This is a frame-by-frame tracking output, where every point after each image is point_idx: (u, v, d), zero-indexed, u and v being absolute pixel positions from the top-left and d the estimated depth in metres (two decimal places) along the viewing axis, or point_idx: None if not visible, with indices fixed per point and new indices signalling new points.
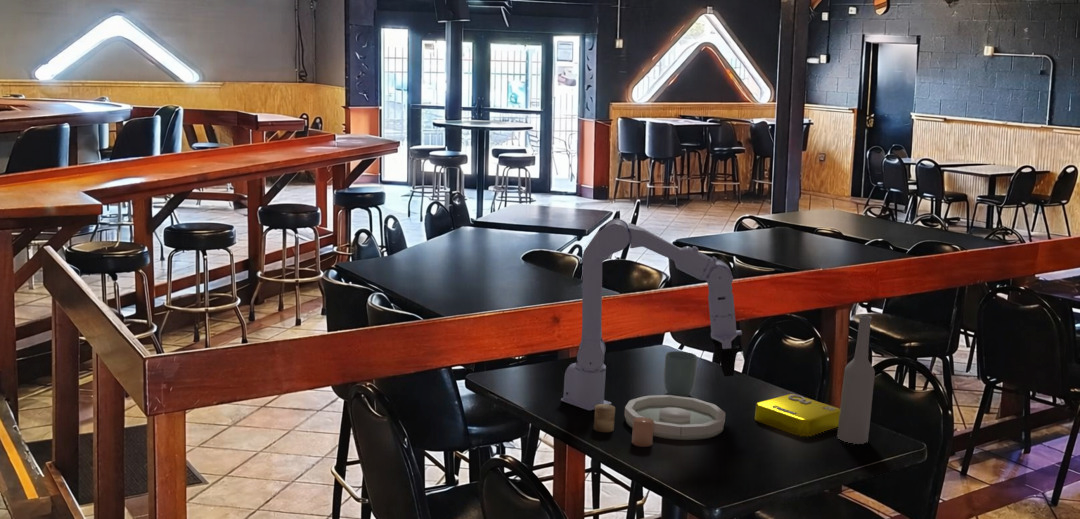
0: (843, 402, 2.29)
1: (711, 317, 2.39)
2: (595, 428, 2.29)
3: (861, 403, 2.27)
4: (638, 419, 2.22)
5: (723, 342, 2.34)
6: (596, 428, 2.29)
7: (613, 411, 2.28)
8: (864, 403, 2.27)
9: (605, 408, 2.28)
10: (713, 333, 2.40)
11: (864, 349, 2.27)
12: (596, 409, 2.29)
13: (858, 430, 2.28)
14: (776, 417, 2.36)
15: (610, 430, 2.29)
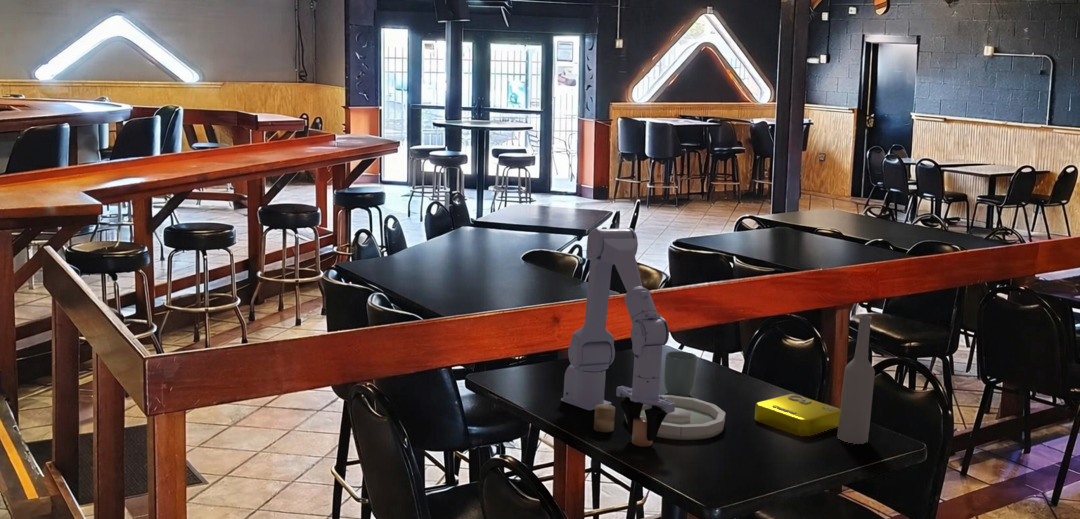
0: (843, 402, 2.29)
1: None
2: (595, 428, 2.29)
3: (861, 403, 2.27)
4: (638, 419, 2.22)
5: None
6: (596, 428, 2.29)
7: (613, 411, 2.28)
8: (864, 403, 2.27)
9: (605, 408, 2.28)
10: None
11: (864, 349, 2.27)
12: (596, 409, 2.29)
13: (858, 430, 2.28)
14: (776, 417, 2.36)
15: (610, 430, 2.29)
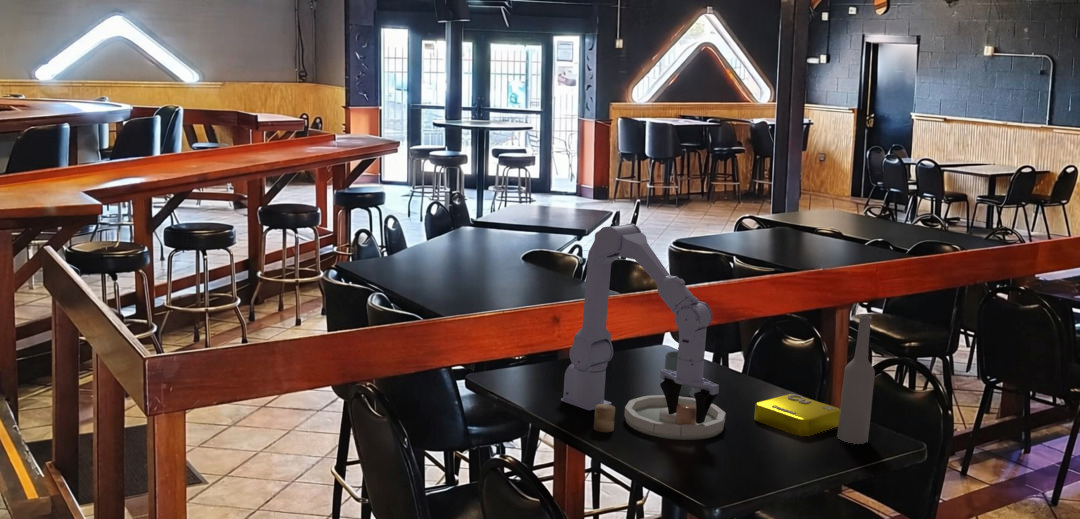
0: (843, 402, 2.29)
1: None
2: (595, 428, 2.29)
3: (861, 403, 2.27)
4: (681, 405, 2.30)
5: None
6: (596, 428, 2.29)
7: (613, 411, 2.28)
8: (864, 403, 2.27)
9: (605, 408, 2.28)
10: None
11: (864, 349, 2.27)
12: (596, 409, 2.29)
13: (858, 430, 2.28)
14: (776, 417, 2.36)
15: (610, 430, 2.29)
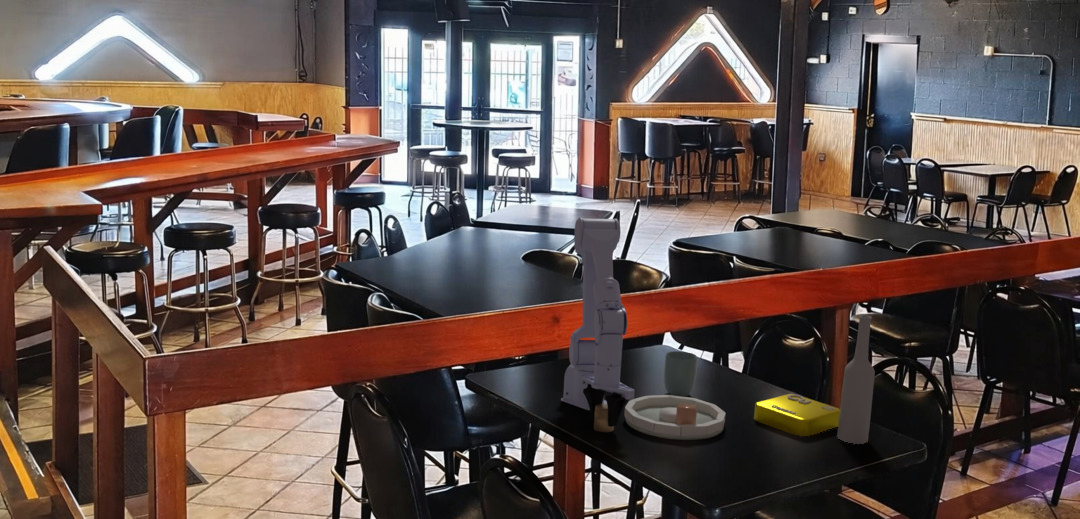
0: (843, 402, 2.29)
1: None
2: (595, 428, 2.29)
3: (861, 403, 2.27)
4: (681, 405, 2.30)
5: None
6: (596, 428, 2.29)
7: None
8: (864, 403, 2.27)
9: (605, 408, 2.28)
10: None
11: (864, 349, 2.27)
12: (596, 409, 2.29)
13: (858, 430, 2.28)
14: (775, 417, 2.37)
15: (610, 430, 2.29)
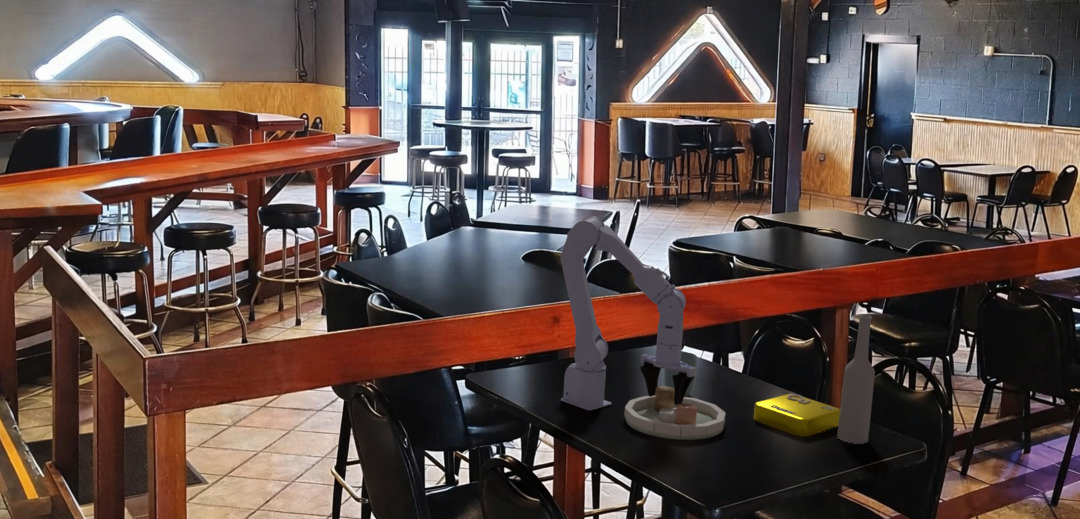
0: (843, 402, 2.29)
1: None
2: (656, 409, 2.41)
3: (861, 403, 2.27)
4: (681, 405, 2.30)
5: None
6: (657, 409, 2.41)
7: (673, 392, 2.40)
8: (864, 403, 2.27)
9: (665, 390, 2.41)
10: None
11: (864, 349, 2.27)
12: (657, 391, 2.41)
13: (858, 430, 2.28)
14: (775, 416, 2.37)
15: None
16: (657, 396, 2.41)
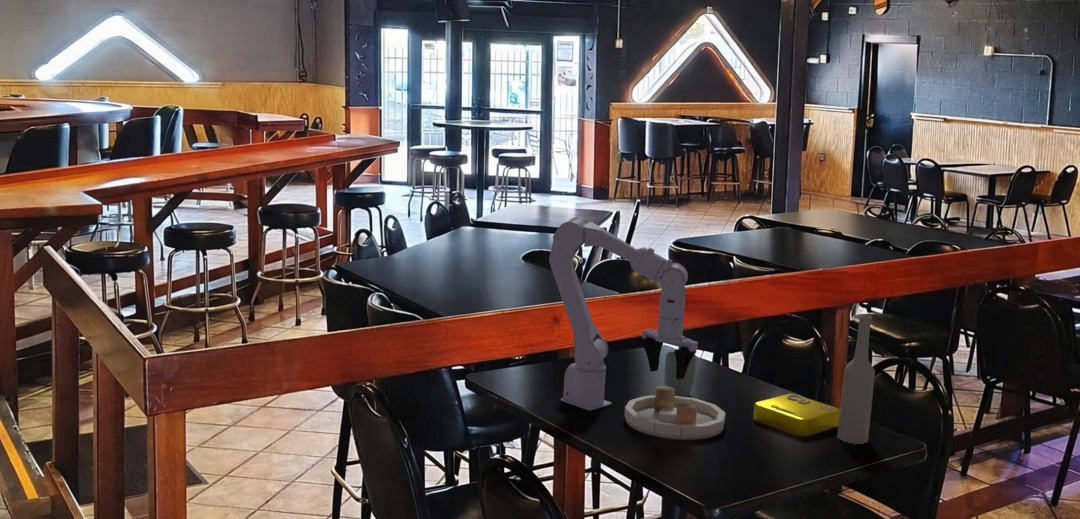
0: (843, 402, 2.29)
1: None
2: (656, 409, 2.41)
3: (861, 403, 2.27)
4: (681, 405, 2.30)
5: None
6: (657, 409, 2.41)
7: (673, 392, 2.40)
8: (864, 403, 2.27)
9: (665, 390, 2.41)
10: None
11: (864, 349, 2.27)
12: (657, 391, 2.41)
13: (858, 430, 2.28)
14: (775, 416, 2.37)
15: None
16: (657, 396, 2.41)
